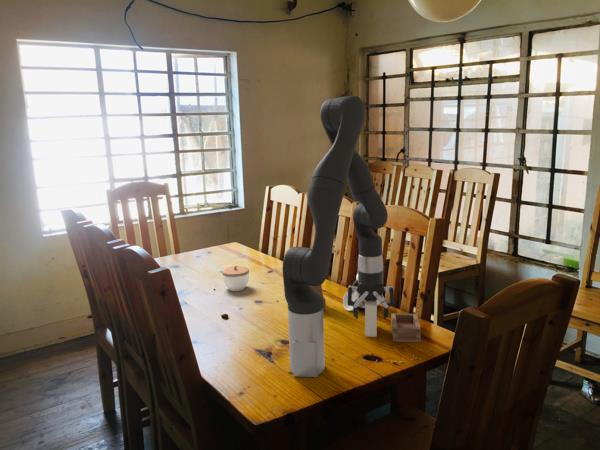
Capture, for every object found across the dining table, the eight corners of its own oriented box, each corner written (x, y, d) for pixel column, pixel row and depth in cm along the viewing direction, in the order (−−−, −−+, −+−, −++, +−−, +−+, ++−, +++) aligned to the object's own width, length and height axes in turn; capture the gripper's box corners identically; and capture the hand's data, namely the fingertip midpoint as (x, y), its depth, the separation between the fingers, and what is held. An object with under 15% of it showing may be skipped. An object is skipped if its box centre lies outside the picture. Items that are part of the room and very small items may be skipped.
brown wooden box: (420, 342, 143) (421, 329, 142) (393, 341, 144) (393, 328, 143) (416, 325, 155) (416, 313, 154) (391, 324, 156) (391, 313, 155)
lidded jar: (253, 290, 192) (252, 267, 190) (226, 294, 188) (225, 271, 186) (246, 282, 202) (244, 261, 200) (220, 286, 198) (219, 264, 196)
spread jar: (383, 305, 172) (383, 274, 170) (371, 316, 163) (371, 283, 160) (352, 300, 178) (352, 269, 176) (339, 310, 169) (338, 278, 166)
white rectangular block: (376, 336, 148) (376, 305, 146) (365, 336, 148) (365, 305, 146) (376, 325, 155) (376, 296, 153) (365, 325, 156) (365, 296, 154)
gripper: (346, 272, 145) (347, 322, 149) (395, 272, 143) (394, 323, 147) (347, 264, 152) (348, 312, 156) (393, 264, 150) (393, 313, 154)
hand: (370, 318), depth 151 cm, fingers open, 8 cm apart
